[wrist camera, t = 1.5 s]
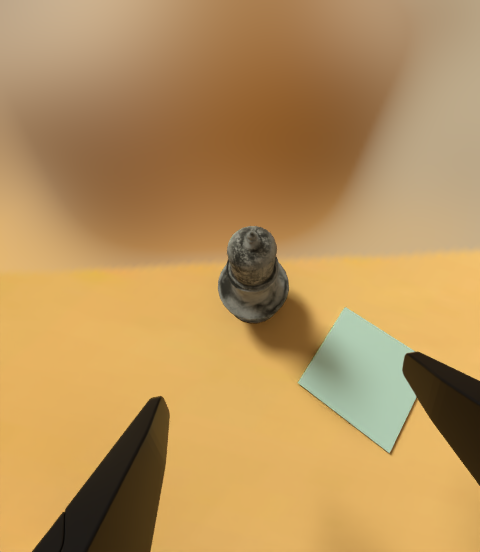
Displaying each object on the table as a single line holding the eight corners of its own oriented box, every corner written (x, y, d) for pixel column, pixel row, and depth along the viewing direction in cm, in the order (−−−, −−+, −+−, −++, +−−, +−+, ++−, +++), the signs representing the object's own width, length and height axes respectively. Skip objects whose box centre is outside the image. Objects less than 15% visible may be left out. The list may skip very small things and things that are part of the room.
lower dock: (430, 362, 20) (432, 362, 20) (387, 451, 18) (389, 453, 18) (344, 307, 22) (345, 307, 22) (297, 382, 20) (298, 383, 20)
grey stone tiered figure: (296, 301, 23) (337, 241, 11) (247, 339, 22) (238, 315, 11) (258, 256, 24) (261, 167, 13) (211, 290, 24) (171, 224, 12)
